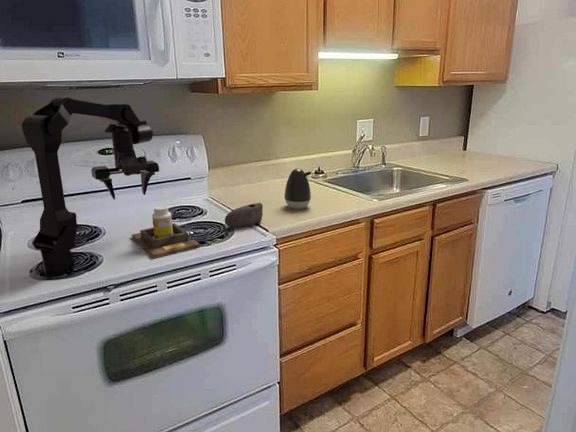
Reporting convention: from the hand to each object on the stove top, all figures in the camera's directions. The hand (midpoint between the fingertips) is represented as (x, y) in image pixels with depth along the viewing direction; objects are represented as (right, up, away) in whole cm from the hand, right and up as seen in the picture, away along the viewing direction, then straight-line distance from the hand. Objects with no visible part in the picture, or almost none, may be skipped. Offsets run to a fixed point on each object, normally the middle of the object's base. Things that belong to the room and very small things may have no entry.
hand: (129, 196), depth 133 cm
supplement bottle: (+11, -13, -1) cm, 17 cm away
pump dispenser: (+53, -3, +33) cm, 63 cm away
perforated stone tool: (+35, -9, +14) cm, 38 cm away
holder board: (+11, -14, -1) cm, 18 cm away
